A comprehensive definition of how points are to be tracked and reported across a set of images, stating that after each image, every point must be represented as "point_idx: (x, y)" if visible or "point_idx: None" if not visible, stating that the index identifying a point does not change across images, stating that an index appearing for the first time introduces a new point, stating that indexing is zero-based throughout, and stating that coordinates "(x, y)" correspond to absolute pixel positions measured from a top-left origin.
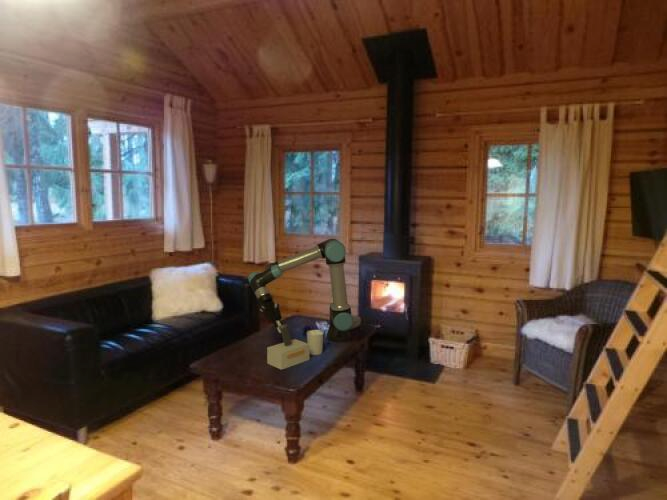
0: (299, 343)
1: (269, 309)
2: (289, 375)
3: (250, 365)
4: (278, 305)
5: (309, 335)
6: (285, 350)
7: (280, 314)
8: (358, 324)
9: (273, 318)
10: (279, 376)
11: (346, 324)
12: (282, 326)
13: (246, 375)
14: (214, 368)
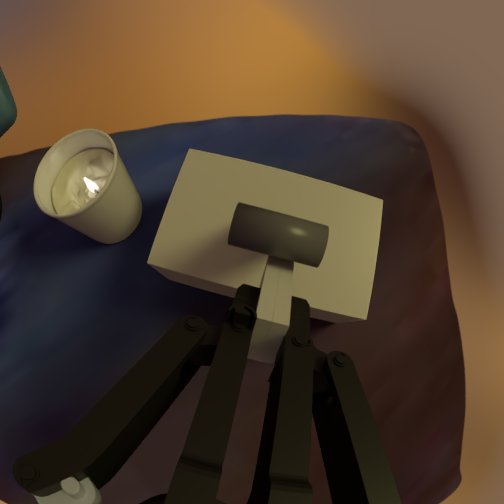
0: (205, 196)
1: (311, 498)
2: (370, 175)
3: (388, 366)
4: (40, 461)
5: (114, 175)
6: (342, 202)
7: (157, 353)
8: None
9: (312, 365)
10: (397, 201)
11: (6, 85)
12: (314, 223)
13: (452, 307)
14: (455, 439)
